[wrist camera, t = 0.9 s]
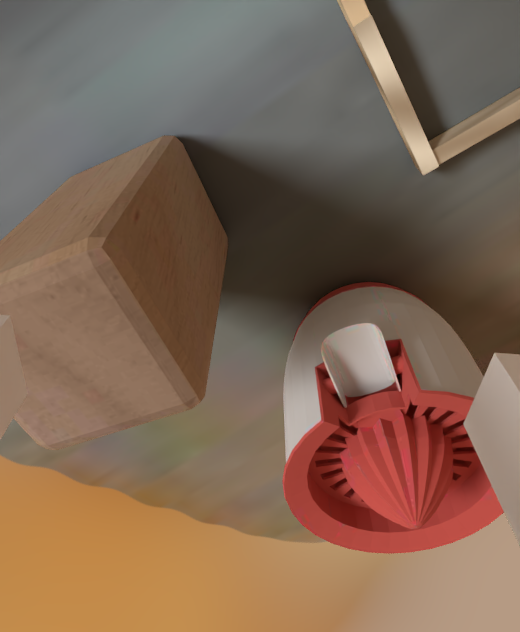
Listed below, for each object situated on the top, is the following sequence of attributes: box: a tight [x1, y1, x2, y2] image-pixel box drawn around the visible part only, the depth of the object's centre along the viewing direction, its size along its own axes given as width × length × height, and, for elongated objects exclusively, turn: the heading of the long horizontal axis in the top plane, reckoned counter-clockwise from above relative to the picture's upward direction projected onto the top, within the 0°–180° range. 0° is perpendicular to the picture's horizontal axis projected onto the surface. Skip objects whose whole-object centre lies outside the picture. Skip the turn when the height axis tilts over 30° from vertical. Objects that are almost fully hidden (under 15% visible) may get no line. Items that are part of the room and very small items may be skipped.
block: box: [0, 136, 228, 450], centre depth 32 cm, size 10×10×20 cm
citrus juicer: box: [283, 282, 504, 553], centre depth 37 cm, size 16×17×20 cm
